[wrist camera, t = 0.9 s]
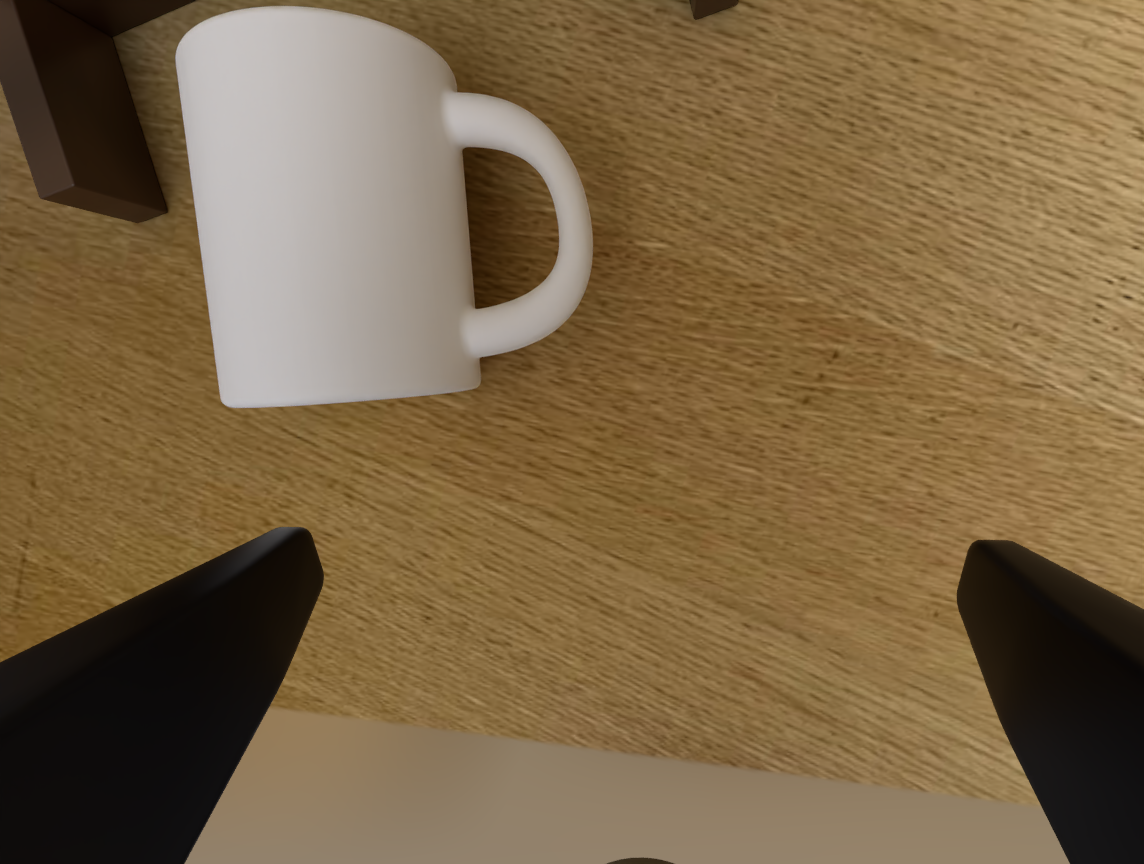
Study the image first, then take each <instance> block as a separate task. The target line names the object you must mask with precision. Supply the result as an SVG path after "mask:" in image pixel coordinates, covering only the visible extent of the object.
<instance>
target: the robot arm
mask: <svg viewBox="0 0 1144 864" xmlns="http://www.w3.org/2000/svg"><path fill="white" fill-rule="evenodd" d="M323 580H324V574H323V569H322V566H321V563H320V559H319V556H318V553H317V550H316V547H315V544H314V541H313V538H312V535H311V533H310V532H309V531H308V530H307V529H305V528H303V527H279V528H276V529H273V530H271V531H269V532H267V533H265V534H263V535H261V536H259V537H257V538H255V539H253V540H251V541H249V542H247V543H245V544H243V545H241V546H239V547H236V548H234V549H232V550H230V551H228V552H226V553H224V554H222V555H220V556H218V557H216V558H214V559H212V560H210V561H208V562H206V563H204V564H202V565H200V566H197V567H195V568H193V569H191V570H189V571H187V572H185V573H183V574H181V575H179V576H177V577H175V578H173V579H171V580H169V581H167V582H165V583H163V584H160V585H158V586H156V587H154V588H152V589H150V590H148V591H146V592H144V593H142V594H140V595H138V596H136V597H134V598H132V599H130V600H128V601H126V602H123V603H121V604H119V605H117V606H115V607H113V608H111V609H109V610H107V611H105V612H103V613H101V614H99V615H97V616H95V617H93V618H91V619H89V620H86V621H84V622H82V623H80V624H78V625H76V626H74V627H72V628H70V629H68V630H66V631H64V632H62V633H60V634H58V635H56V636H54V637H52V638H49V639H47V640H45V641H43V642H41V643H39V644H37V645H35V646H33V647H31V648H29V649H27V650H25V651H23V652H21V653H19V654H17V655H15V656H12V657H10V658H8V659H6V660H4V661H2V662H0V864H184V863H185V862H186V860H187V858H188V856H189V854H190V852H191V851H192V848H193V847H194V845H195V843H196V841H197V839H198V837H199V836H200V834H201V832H202V830H203V828H204V827H205V825H206V823H207V821H208V819H209V817H210V815H211V814H212V811H213V810H214V808H215V806H216V804H217V802H218V800H219V799H220V797H221V795H222V793H223V791H224V789H225V788H226V785H227V784H228V782H229V780H230V778H231V776H232V774H233V773H234V771H235V769H236V767H237V765H238V764H239V762H240V760H241V757H242V756H243V754H244V752H245V751H246V749H247V747H248V745H249V743H250V741H251V740H252V738H253V736H254V734H255V732H256V730H257V728H258V727H259V725H260V722H261V721H262V719H263V717H264V715H265V714H266V712H267V710H268V708H269V706H270V704H271V702H272V701H273V699H274V697H275V695H276V693H277V691H278V689H279V687H280V685H281V683H282V681H283V679H284V677H285V674H286V672H287V670H288V668H289V666H290V663H291V661H292V659H293V656H294V654H295V651H296V649H297V647H298V644H299V642H300V640H301V637H302V635H303V632H304V630H305V628H306V625H307V623H308V620H309V618H310V616H311V613H312V611H313V609H314V606H315V604H316V601H317V599H318V597H319V594H320V592H321V589H322V586H323ZM957 604H958V609H959V612H960V615H961V618H962V620H963V623H964V626H965V628H966V631H967V634H968V637H969V639H970V642H971V645H972V648H973V650H974V653H975V656H976V658H977V661H978V664H979V667H980V669H981V672H982V675H983V677H984V680H985V683H986V686H987V688H988V691H989V694H990V697H991V699H992V702H993V705H994V707H995V710H996V712H997V715H998V717H999V720H1000V722H1001V724H1002V727H1003V729H1004V731H1005V733H1006V735H1007V737H1008V739H1009V742H1010V744H1011V746H1012V748H1013V750H1014V752H1015V754H1016V756H1017V758H1018V760H1019V762H1020V764H1021V766H1022V768H1023V770H1024V772H1025V774H1026V776H1027V778H1028V780H1029V782H1030V784H1031V786H1032V788H1033V790H1034V792H1035V794H1036V796H1037V798H1038V800H1039V802H1040V804H1041V806H1042V808H1043V810H1044V812H1045V814H1046V816H1047V818H1048V820H1049V822H1050V824H1051V826H1052V828H1053V830H1054V832H1055V834H1056V836H1057V838H1058V840H1059V842H1060V844H1061V847H1062V848H1063V850H1064V853H1065V855H1066V856H1067V858H1068V861H1069V862H1070V864H1144V609H1142V608H1140V607H1138V606H1136V605H1134V604H1132V603H1131V602H1129V601H1127V600H1125V599H1123V598H1121V597H1119V596H1117V595H1115V594H1113V593H1111V592H1109V591H1107V590H1106V589H1104V588H1102V587H1100V586H1098V585H1096V584H1094V583H1092V582H1090V581H1088V580H1086V579H1084V578H1083V577H1081V576H1079V575H1077V574H1075V573H1073V572H1071V571H1069V570H1067V569H1065V568H1063V567H1061V566H1059V565H1058V564H1056V563H1054V562H1052V561H1050V560H1048V559H1046V558H1044V557H1042V556H1040V555H1038V554H1036V553H1035V552H1033V551H1031V550H1029V549H1027V548H1025V547H1023V546H1021V545H1019V544H1017V543H1015V542H1013V541H1008V540H977V541H975V542H973V543H972V544H971V546H970V547H969V550H968V552H967V556H966V560H965V563H964V567H963V571H962V574H961V578H960V582H959V585H958V590H957Z"/></svg>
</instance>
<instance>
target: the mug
mask: <svg viewBox="0 0 1144 864" xmlns="http://www.w3.org/2000/svg"><path fill="white" fill-rule="evenodd" d="M175 59H176V69H177V76H178V84H179V91H180V99H181V106H182V114H183V121H184V129H185V136H186V144H187V151H188V159H189V166H190V174H191V181H192V189H193V196H194V204H195V211H196V219H197V226H198V234H199V241H200V249H201V256H202V264H203V271H204V278H205V286H206V293H207V301H208V308H209V316H210V323H211V331H212V338H213V346H214V353H215V361H216V368H217V376H218V383H219V391H220V398H221V401H222V403H223V404H224V405H226V406H228V407H232V408H261V407H283V406H300V405H316V404H331V403H344V402H357V401H370V400H382V399H393V398H404V397H415V396H425V395H435V394H444V393H452V392H459V391H466V390H471V389H475V388H477V387H478V386H479V385H480V383H481V372H480V360H479V358H481V357H486V356H492V355H497V354H501V353H505V352H510V351H513V350H517V349H520V348H523V347H525V346H528V345H530V344H533V343H535V342H537V341H539V340H541V339H543V338H545V337H546V336H548V335H549V334H551V333H552V332H554V331H555V330H557V329H558V328H559V327H560V326H561V325H562V324H563V323H564V322H566V320H567V319H568V318H569V317H570V316H571V315H572V313H573V312H574V311H575V309H576V308H577V306H578V305H579V303H580V301H581V299H582V297H583V295H584V293H585V290H586V287H587V284H588V281H589V277H590V273H591V267H592V257H593V235H592V225H591V217H590V212H589V207H588V203H587V199H586V195H585V191H584V188H583V185H582V182H581V180H580V177H579V175H578V172H577V170H576V168H575V166H574V164H573V162H572V160H571V158H570V156H569V154H568V153H567V151H566V150H565V148H564V146H563V145H562V144H561V142H560V141H559V140H558V138H557V137H556V136H555V135H554V133H553V132H552V131H551V130H550V129H549V128H548V127H547V126H546V125H545V124H544V123H543V122H542V121H541V120H540V119H538V118H537V117H536V116H534V115H533V114H532V113H530V112H529V111H527V110H525V109H524V108H522V107H520V106H518V105H516V104H514V103H512V102H509V101H507V100H504V99H501V98H497V97H493V96H489V95H484V94H476V93H461V92H457V84H456V80H455V76H454V74H453V72H452V70H451V68H450V67H449V65H448V64H447V63H446V61H445V60H444V59H443V58H442V57H441V56H440V55H439V54H438V53H437V52H436V51H435V50H434V49H432V48H431V47H430V46H428V45H427V44H425V43H424V42H422V41H421V40H419V39H418V38H416V37H414V36H412V35H410V34H408V33H406V32H404V31H402V30H400V29H398V28H395V27H393V26H390V25H388V24H385V23H382V22H379V21H376V20H373V19H370V18H366V17H363V16H359V15H355V14H350V13H346V12H341V11H335V10H329V9H321V8H313V7H301V6H266V7H254V8H247V9H241V10H236V11H231V12H227V13H224V14H220V15H217V16H214V17H212V18H209V19H207V20H205V21H203V22H201V23H199V24H198V25H196V26H195V27H193V28H192V29H191V30H189V31H188V32H187V33H186V34H185V35H184V37H183V38H182V39H181V41H180V43H179V45H178V47H177V51H176V56H175ZM466 147H481V148H490V149H496V150H501V151H505V152H508V153H511V154H514V155H516V156H518V157H520V158H522V159H524V160H525V161H527V162H528V163H529V164H531V165H532V166H533V167H534V168H535V169H536V170H537V171H538V172H539V173H540V175H541V176H542V178H543V179H544V181H545V182H546V184H547V186H548V188H549V191H550V193H551V196H552V199H553V202H554V206H555V210H556V215H557V220H558V227H559V251H558V257H557V260H556V263H555V266H554V268H553V270H552V271H551V273H550V274H549V276H548V277H547V278H546V279H545V280H544V281H543V282H542V283H541V284H540V285H539V286H537V287H536V288H535V289H533V290H532V291H530V292H529V293H527V294H525V295H523V296H521V297H519V298H516V299H514V300H511V301H509V302H505V303H502V304H499V305H495V306H491V307H486V308H482V309H475V299H474V287H473V275H472V263H471V251H470V239H469V227H468V214H467V202H466V190H465V178H464V166H463V154H462V150H463V149H464V148H466Z"/></svg>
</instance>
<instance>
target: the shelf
mask: <svg viewBox="0 0 1144 864" xmlns="http://www.w3.org/2000/svg"><path fill="white" fill-rule="evenodd" d="M192 1H195V0H0V82H1V85H2V88H3V91H4V94H5V97H6V100H7V103H8V105H9V108H10V111H11V114H12V117H13V120H14V123H15V126H16V129H17V132H18V135H19V138H20V141H21V144H22V147H23V150H24V153H25V156H26V159H27V162H28V165H29V168H30V171H31V174H32V177H33V180H34V183H35V186H36V189H37V191H38V194H39V197H40V198H41V199H43V200H47V201H51V202H55V203H59V204H63V205H67V206H71V207H75V208H79V209H83V210H87V211H91V212H95V213H99V214H103V215H107V216H111V217H115V218H119V219H123V220H127V221H131V222H135V223H139V222H142V221H145V220H148V219H150V218H153V217H156V216H159V215H161V214H164V213H166V212H167V209H166V206H165V203H164V200H163V197H162V194H161V191H160V187H159V184H158V181H157V178H156V175H155V172H154V169H153V166H152V162H151V159H150V156H149V153H148V150H147V147H146V144H145V140H144V137H143V134H142V131H141V128H140V125H139V122H138V119H137V115H136V112H135V109H134V106H133V103H132V100H131V97H130V94H129V90H128V87H127V84H126V81H125V78H124V75H123V72H122V69H121V65H120V62H119V59H118V56H117V53H116V50H115V47H114V44H113V40H112V38H111V37H112V36H114V35H116V34H118V33H121V32H123V31H125V30H128V29H130V28H132V27H135V26H137V25H139V24H142V23H144V22H146V21H148V20H151V19H153V18H155V17H158V16H160V15H162V14H165V13H167V12H169V11H172V10H174V9H176V8H179V7H181V6H183V5H185V4H188V3H190V2H192ZM737 3H738V0H690V4H691V8H692V12H693V16H694V19H699V18H702V17H704V16H707V15H710V14H713V13H715V12H718V11H721V10H724V9H726V8H729V7H732V6H734V5H736V4H737Z"/></svg>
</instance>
